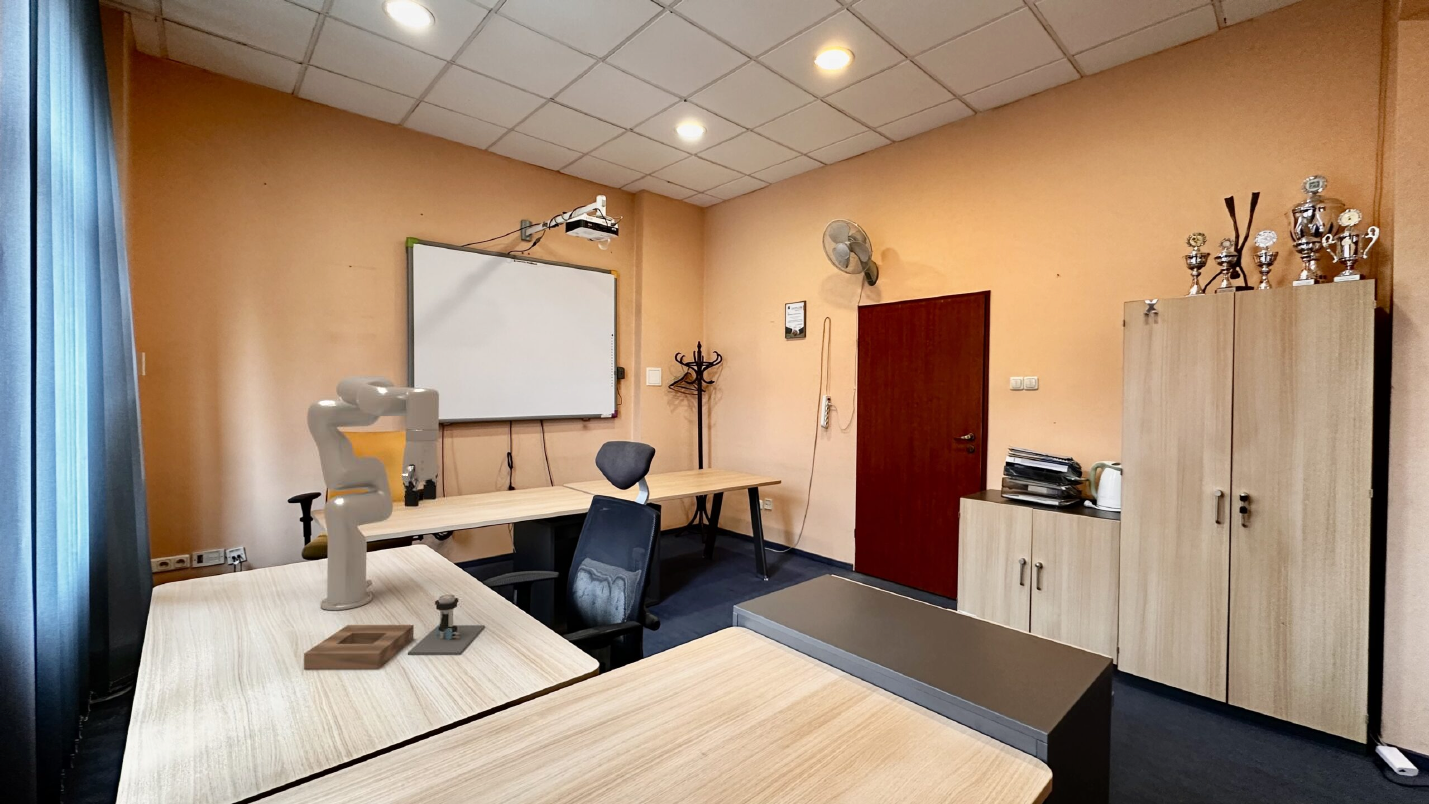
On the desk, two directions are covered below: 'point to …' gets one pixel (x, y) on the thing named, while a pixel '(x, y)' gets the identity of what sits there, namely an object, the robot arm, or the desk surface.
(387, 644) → the holder
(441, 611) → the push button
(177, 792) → the desk surface
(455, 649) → the pad
